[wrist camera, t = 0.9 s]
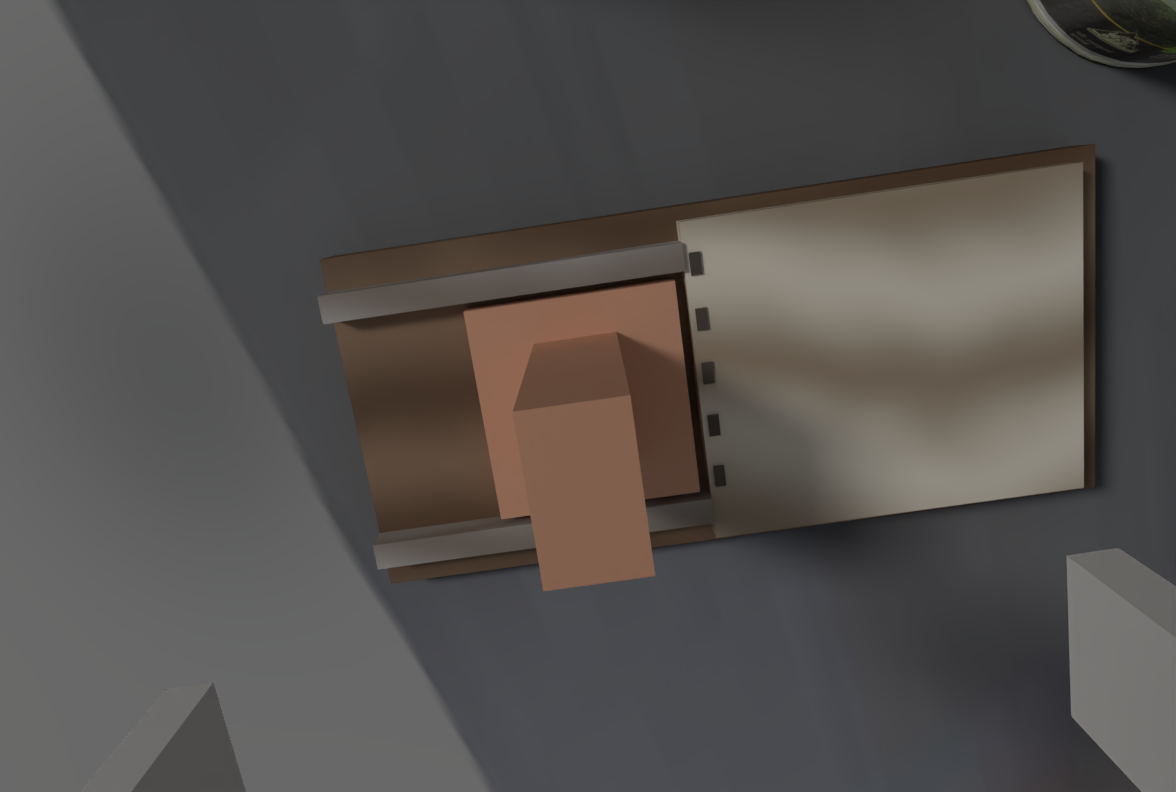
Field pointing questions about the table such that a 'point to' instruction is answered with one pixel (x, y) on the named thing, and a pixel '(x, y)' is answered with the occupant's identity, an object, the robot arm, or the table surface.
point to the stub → (586, 422)
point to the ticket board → (760, 353)
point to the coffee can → (1113, 29)
